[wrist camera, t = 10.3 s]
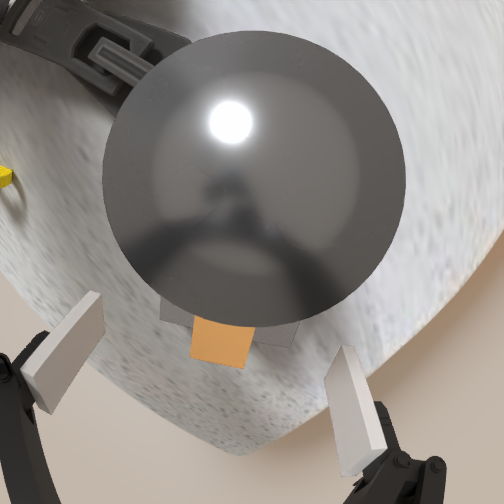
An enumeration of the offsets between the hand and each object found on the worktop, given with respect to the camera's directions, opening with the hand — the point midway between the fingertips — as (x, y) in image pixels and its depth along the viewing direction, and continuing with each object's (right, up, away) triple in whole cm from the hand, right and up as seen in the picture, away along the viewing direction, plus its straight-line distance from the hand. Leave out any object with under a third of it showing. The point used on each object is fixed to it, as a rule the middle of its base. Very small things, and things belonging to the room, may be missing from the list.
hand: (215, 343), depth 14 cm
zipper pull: (-13, +25, +5) cm, 28 cm away
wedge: (+1, +4, +12) cm, 13 cm away
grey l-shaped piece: (+1, +7, +11) cm, 13 cm away
